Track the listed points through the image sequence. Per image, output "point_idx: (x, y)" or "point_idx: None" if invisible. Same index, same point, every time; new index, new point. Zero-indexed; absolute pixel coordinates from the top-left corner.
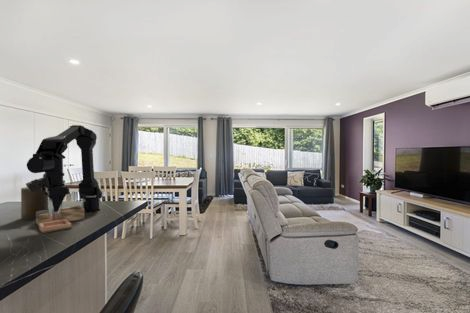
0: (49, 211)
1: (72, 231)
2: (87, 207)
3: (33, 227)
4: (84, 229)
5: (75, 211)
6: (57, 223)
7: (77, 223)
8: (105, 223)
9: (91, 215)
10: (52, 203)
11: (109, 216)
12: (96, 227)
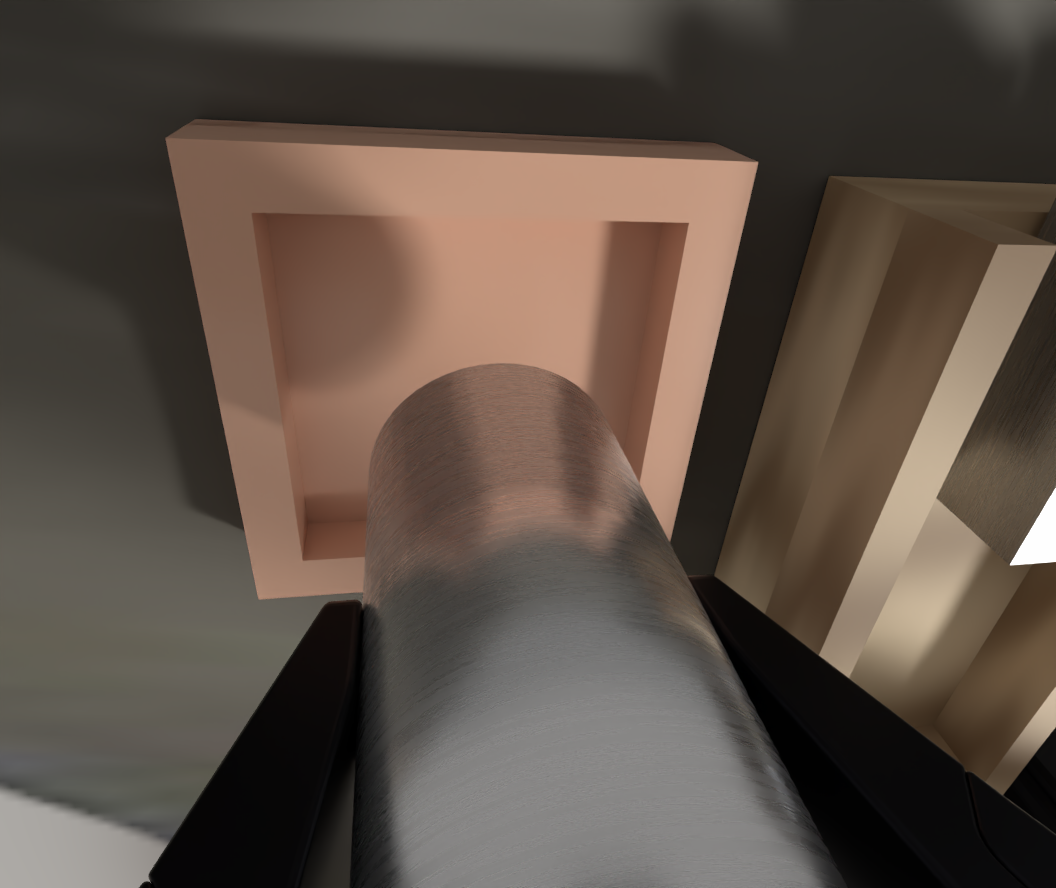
0: (464, 504)
1: (23, 531)
2: (1014, 794)
3: (861, 70)
4: (52, 655)
5: None
6: (628, 438)
7: None
8: None
9: None
10: (222, 884)
11: None
12: (77, 756)
